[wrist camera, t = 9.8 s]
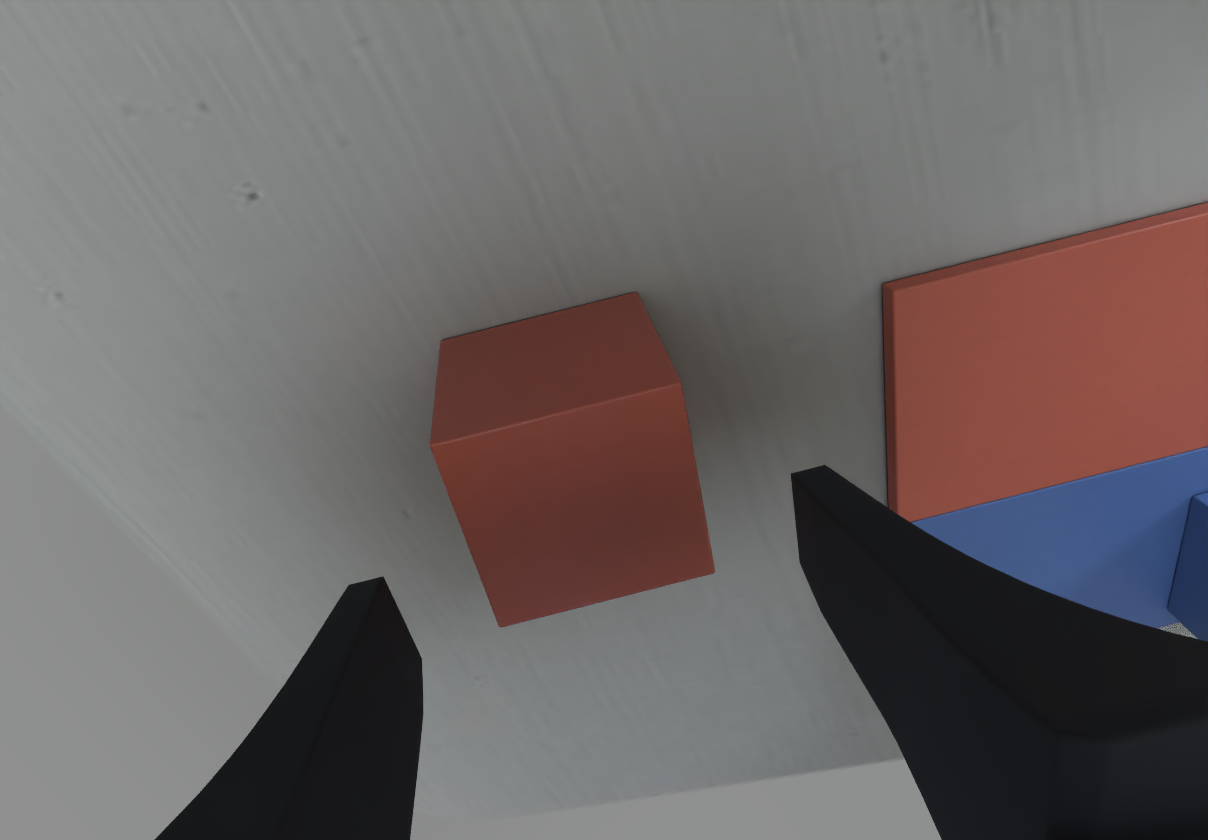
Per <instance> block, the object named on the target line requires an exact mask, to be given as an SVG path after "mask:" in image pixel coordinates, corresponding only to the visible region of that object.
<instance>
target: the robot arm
mask: <svg viewBox="0 0 1208 840" xmlns="http://www.w3.org/2000/svg"><path fill="white" fill-rule="evenodd" d="M791 481H792V491H793V501H794V510H795V520H796V530H797V540H798V550H799V559H800V564H801V567H802V569H803V571H804V574H805V576H806V578H807V581H808V583H809V585H810V588H811V590H812V592H813V595H814V597H815V599H816V601H817V604H818V606H819V608H820V610H821V612H822V614H823V616H824V618H825V619H826V621H827V623H828V625H829V626H830V628H831V630H832V631H833V633H834V635H835V637H836V638H837V640H838V642H839V643H840V645H841V647H842V648H843V650H844V652H845V653H846V655H847V657H848V659H849V660H850V662H851V664H852V665H853V667H854V669H855V670H856V672H857V674H858V675H859V677H860V679H861V680H862V682H863V684H864V685H865V687H866V689H867V690H868V692H869V694H870V695H871V697H872V699H873V700H874V702H875V704H876V706H877V707H878V709H879V711H880V712H881V714H882V716H883V717H884V719H885V721H886V723H887V725H888V726H889V728H890V730H891V732H892V734H893V736H894V738H895V739H896V741H897V743H898V745H899V747H900V750H901V752H902V754H903V756H904V758H905V760H906V762H907V764H908V767H909V769H910V771H911V773H912V775H913V777H914V779H915V782H916V784H917V786H918V788H919V790H920V792H921V794H922V796H923V799H924V801H925V803H926V805H927V808H928V810H929V812H930V814H931V816H932V819H933V821H934V823H935V826H936V828H937V830H938V832H939V834H940V837H941V839H942V840H1208V642H1207V641H1203V640H1199V639H1195V638H1191V637H1186V636H1182V635H1178V634H1174V633H1171V632H1167V631H1163V630H1160V629H1157V628H1153V627H1150V626H1147V625H1143V624H1140V623H1136V622H1133V621H1130V620H1126V619H1123V618H1120V617H1117V616H1114V615H1111V614H1108V613H1105V612H1102V611H1099V610H1096V609H1093V608H1090V607H1087V606H1084V605H1082V604H1079V603H1076V602H1074V601H1071V600H1068V599H1066V598H1063V597H1060V596H1058V595H1055V594H1052V593H1050V592H1047V591H1045V590H1042V589H1040V588H1037V587H1035V586H1032V585H1030V584H1028V583H1025V582H1023V581H1021V580H1019V579H1016V578H1014V577H1012V576H1010V575H1008V574H1005V573H1003V572H1001V571H999V570H997V569H995V568H992V567H990V566H988V565H986V564H984V563H982V562H980V561H978V560H976V559H974V558H972V557H970V556H968V555H966V554H964V553H962V552H961V551H959V550H957V549H955V548H953V547H952V546H950V545H948V544H946V543H944V542H942V541H941V540H939V539H937V538H935V537H934V536H932V535H930V534H929V533H927V532H925V531H924V530H922V529H920V528H919V527H917V526H916V525H914V524H913V523H911V522H909V521H908V520H906V519H905V518H903V517H901V516H900V515H898V514H897V513H895V512H893V511H892V510H890V509H889V508H887V507H886V506H884V505H883V504H881V503H880V502H878V501H877V500H875V499H874V498H873V497H871V496H870V495H868V494H867V493H865V492H864V491H862V490H861V489H859V488H858V487H857V486H855V485H854V484H852V483H851V482H849V481H848V480H847V479H845V478H844V477H842V476H841V475H839V474H838V473H836V472H835V471H834V470H832V469H831V468H829V467H827V466H826V465H823V466H819V467H815V468H811V469H807V470H803V471H799V472H795V473H791ZM422 722H423V677H422V658H421V656H420V654H419V651H418V649H417V647H416V645H415V643H414V641H413V639H412V636H411V634H410V632H409V630H408V628H407V626H406V624H405V622H404V619H403V617H402V615H401V613H400V611H399V609H398V607H397V605H396V602H395V600H394V598H393V596H392V594H391V592H390V590H389V587H388V585H387V583H386V581H385V579H384V577H379V578H375V579H371V580H367V581H363V582H359V583H355V584H351V585H349V586H348V587H347V589H346V590H345V592H344V593H343V595H342V596H341V598H340V599H339V601H338V602H337V604H336V606H335V607H334V609H333V610H332V612H331V613H330V615H329V617H328V618H327V620H326V621H325V623H324V625H323V626H322V628H321V629H320V631H319V632H318V634H317V636H316V637H315V639H314V640H313V642H312V643H311V645H310V647H309V648H308V650H307V651H306V653H305V654H304V656H303V657H302V659H301V660H300V662H299V664H298V665H297V667H296V668H295V670H294V671H293V673H292V674H291V676H290V677H289V679H288V680H287V682H286V683H285V685H284V686H283V687H282V689H281V690H280V692H279V693H278V694H277V696H276V697H275V699H274V700H273V701H272V703H271V704H270V705H269V707H268V708H267V710H266V711H265V712H264V714H263V715H262V717H261V718H260V719H259V721H258V722H257V723H256V725H255V726H254V728H253V729H252V730H251V732H250V733H249V734H248V736H247V737H246V738H245V739H244V741H243V742H242V743H241V744H240V746H239V747H238V748H237V749H236V751H235V752H234V753H233V755H232V756H231V757H230V758H229V759H228V760H227V762H226V763H225V764H224V765H223V766H222V767H221V769H220V770H219V771H218V772H217V773H216V774H215V776H214V777H213V778H212V779H211V781H210V782H209V783H208V784H207V785H206V786H205V787H204V788H203V789H202V791H201V792H200V793H199V794H198V795H197V796H196V797H195V798H194V799H193V800H192V801H191V803H190V804H189V805H188V806H187V807H186V808H185V809H184V810H183V811H182V812H181V813H180V814H179V815H178V816H177V817H176V818H175V819H174V820H173V821H172V822H171V823H170V824H169V825H168V826H167V827H166V828H165V830H164V831H163V832H162V833H161V834H160V835H159V836H158V837H157V838H156V839H155V840H410V834H411V825H412V816H413V807H414V798H415V789H416V780H417V770H418V761H419V752H420V742H421V732H422Z"/></svg>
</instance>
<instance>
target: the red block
mask: <svg viewBox="0 0 1208 840" xmlns="http://www.w3.org/2000/svg"><path fill="white" fill-rule="evenodd" d="M430 449H431V451H432V454H433V456H434V459H435V462H436V464H437V467H438V469H439V472H440V475H441V477H442V480H443V482H444V485H445V488H446V490H447V493H448V495H449V498H450V501H451V503H452V506H453V508H454V511H455V514H456V516H457V519H458V521H459V524H460V527H461V529H462V532H463V534H464V537H465V540H466V542H467V545H468V547H469V550H470V553H471V555H472V558H473V560H474V563H475V566H476V568H477V571H478V573H479V576H480V579H481V581H482V584H483V586H484V589H485V592H486V594H487V597H488V599H489V602H490V605H491V607H492V610H493V612H494V615H495V618H496V620H497V623H498V625H499V627H505V626H509V625H513V624H517V623H521V622H525V621H529V620H533V619H536V618H540V617H544V616H548V615H552V614H556V613H560V612H564V611H568V610H572V609H576V608H580V607H584V606H587V605H591V604H595V603H599V602H603V601H607V600H611V599H615V598H619V597H623V596H627V595H631V594H635V593H638V592H642V591H646V590H650V589H654V588H658V587H662V586H666V585H670V584H674V583H678V582H682V581H686V580H689V579H693V578H697V577H701V576H705V575H709V574H713V573H714V572H715V567H714V562H713V556H712V551H711V545H710V539H709V534H708V528H707V523H706V517H705V511H704V506H703V500H702V495H701V489H700V483H699V478H698V472H697V467H696V461H695V456H694V450H693V444H692V439H691V433H690V428H689V422H688V416H687V411H686V405H685V400H684V394H683V388H682V383H681V381H680V379H679V377H678V375H677V373H676V371H675V369H674V367H673V365H672V362H671V360H670V358H669V356H668V354H667V352H666V350H665V348H664V346H663V344H662V342H661V340H660V338H659V336H658V334H657V332H656V330H655V328H654V326H653V324H652V321H651V319H650V317H649V315H648V313H647V311H646V309H645V307H644V305H643V303H642V301H641V299H640V297H639V295H638V293H637V292H634V293H630V294H626V295H622V296H618V297H614V298H610V299H606V300H602V301H598V302H594V303H590V304H586V305H582V306H578V307H574V308H570V309H566V310H562V311H558V312H554V313H550V314H546V315H542V316H538V317H534V318H530V319H526V320H522V321H518V322H514V323H510V324H506V325H502V326H498V327H494V328H490V329H486V330H482V331H478V332H474V333H470V334H466V335H462V336H458V337H454V338H450V339H446V340H442V341H441V343H440V352H439V362H438V371H437V381H436V390H435V400H434V409H433V419H432V428H431V438H430Z"/></svg>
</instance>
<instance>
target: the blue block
mask: <svg viewBox="0 0 1208 840" xmlns="http://www.w3.org/2000/svg"><path fill="white" fill-rule="evenodd" d="M1168 611H1169V612H1170V613H1171V614H1172V615H1173V616H1174V617H1175V618H1176V619H1177V620H1178V621H1179V622H1181V623H1182V624H1183V625H1184V626H1185V627H1186V628H1187V629H1188V630H1189V631H1190V632H1191V633H1192V634H1193V635H1195V636H1196V637H1197V638H1198V639H1199V640H1203V641H1207V642H1208V493H1204V494H1200V495H1196V496H1194V497H1192V500H1191V504H1190V509H1189V514H1188V518H1187V523H1186V527H1185V532H1184V536H1183V541H1182V545H1181V550H1180V554H1179V559H1178V563H1177V568H1176V572H1175V577H1174V582H1173V586H1172V591H1171V595H1170V600H1169V604H1168Z"/></svg>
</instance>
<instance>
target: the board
mask: <svg viewBox="0 0 1208 840" xmlns="http://www.w3.org/2000/svg"><path fill="white" fill-rule="evenodd" d="M883 315H884V352H885V390H886V427H887V464H888V501H889V509H890V510H892V511H893V512H895V513H897V514H898V515H900V516H901V517H903V518H905V519H906V520H908V521H909V522H911V523H913V524H914V525H916V526H917V527H919V528H920V529H922V530H924V531H925V532H927V533H929V534H930V535H932V536H934V537H935V538H937V539H939V540H941V541H942V542H944V543H946V544H948V545H950V546H952V547H953V548H955V549H957V550H959V551H961V552H962V553H964V554H966V555H968V556H970V557H972V558H974V559H976V560H978V561H980V562H982V563H984V564H986V565H988V566H990V567H992V568H995V569H997V570H999V571H1001V572H1003V573H1005V574H1008V575H1010V576H1012V577H1014V578H1016V579H1019V580H1021V581H1023V582H1025V583H1028V584H1030V585H1032V586H1035V587H1037V588H1040V589H1042V590H1045V591H1047V592H1050V593H1052V594H1055V595H1058V596H1060V597H1063V598H1066V599H1068V600H1071V601H1074V602H1076V603H1079V604H1082V605H1084V606H1087V607H1090V608H1093V609H1096V610H1099V611H1102V612H1105V613H1108V614H1111V615H1114V616H1117V617H1120V618H1123V619H1126V620H1130V621H1133V622H1136V623H1140V624H1143V625H1147V626H1150V627H1153V628H1159V627H1162V626H1166V625H1170V624H1174V623H1178V622H1179V621H1178V620H1177V619H1176V618H1175V617H1174V616H1173V615H1172V614H1171V613H1170V612H1169V611H1168V604H1169V600H1170V595H1171V591H1172V586H1173V582H1174V577H1175V572H1176V568H1177V563H1178V559H1179V554H1180V550H1181V545H1182V541H1183V536H1184V532H1185V527H1186V523H1187V518H1188V514H1189V509H1190V504H1191V500H1192V497H1194V496H1196V495H1200V494H1204V493H1208V202H1207V203H1203V204H1199V205H1195V206H1191V207H1187V208H1183V209H1179V210H1175V211H1171V212H1167V213H1163V214H1159V215H1156V216H1152V217H1148V218H1144V219H1140V220H1136V221H1132V222H1128V223H1124V224H1120V225H1116V226H1112V227H1108V228H1104V229H1100V230H1096V231H1092V232H1088V233H1084V234H1080V235H1076V236H1072V237H1068V238H1064V239H1060V240H1056V241H1052V242H1048V243H1044V244H1040V245H1036V246H1032V247H1028V248H1024V249H1020V250H1016V251H1012V252H1008V253H1004V254H1000V255H996V256H992V257H988V258H984V259H980V260H976V261H972V262H968V263H964V264H960V265H956V266H952V267H948V268H944V269H940V270H936V271H932V272H928V273H924V274H920V275H916V276H912V277H908V278H904V279H900V280H896V281H892V282H888V283H884V284H883Z"/></svg>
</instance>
